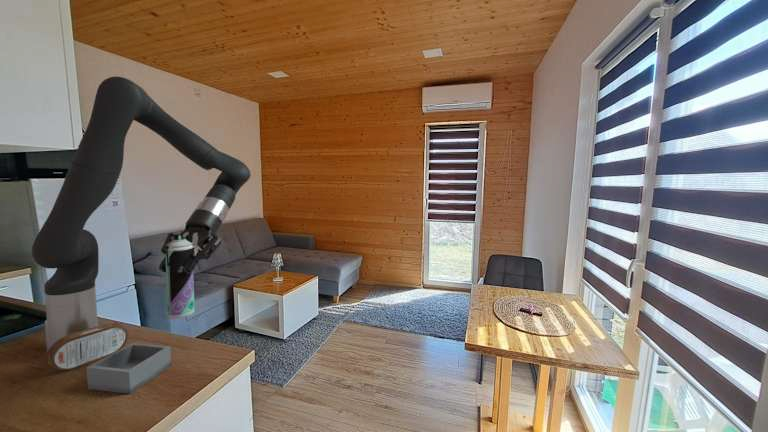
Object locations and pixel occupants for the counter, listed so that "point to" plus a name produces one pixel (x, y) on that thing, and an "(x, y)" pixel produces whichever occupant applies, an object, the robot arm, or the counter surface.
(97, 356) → the tin
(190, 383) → the counter surface
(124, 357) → the box
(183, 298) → the spray can
